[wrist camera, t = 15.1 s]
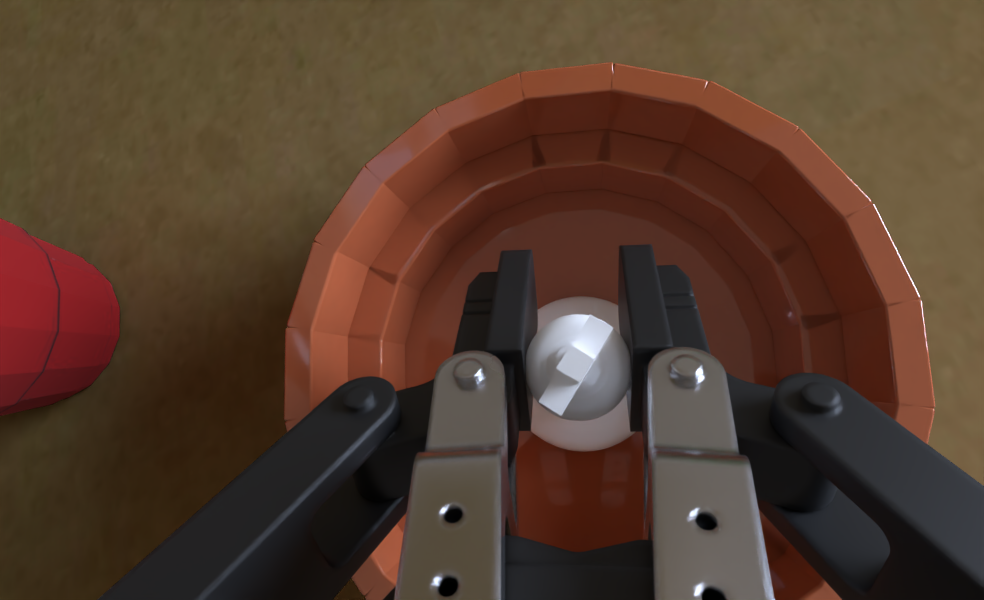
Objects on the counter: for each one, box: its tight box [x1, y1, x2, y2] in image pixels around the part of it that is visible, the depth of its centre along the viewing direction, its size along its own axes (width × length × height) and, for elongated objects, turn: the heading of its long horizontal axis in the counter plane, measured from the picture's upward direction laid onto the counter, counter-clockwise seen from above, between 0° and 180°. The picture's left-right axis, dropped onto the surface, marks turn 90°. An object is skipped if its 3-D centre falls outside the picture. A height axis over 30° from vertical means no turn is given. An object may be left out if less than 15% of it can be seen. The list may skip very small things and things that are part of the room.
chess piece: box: [526, 296, 635, 452], centre depth 14 cm, size 5×5×10 cm
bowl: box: [284, 62, 935, 600], centre depth 17 cm, size 16×16×6 cm
